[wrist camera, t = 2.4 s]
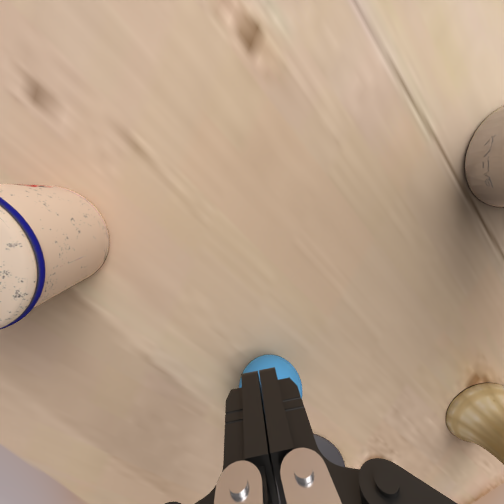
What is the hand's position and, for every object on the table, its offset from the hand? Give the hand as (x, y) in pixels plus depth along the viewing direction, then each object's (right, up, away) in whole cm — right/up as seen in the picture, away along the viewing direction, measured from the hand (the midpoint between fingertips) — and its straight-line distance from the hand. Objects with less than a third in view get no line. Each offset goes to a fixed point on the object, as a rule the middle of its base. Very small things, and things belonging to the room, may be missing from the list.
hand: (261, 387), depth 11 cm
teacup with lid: (-19, +7, +12) cm, 23 cm away
